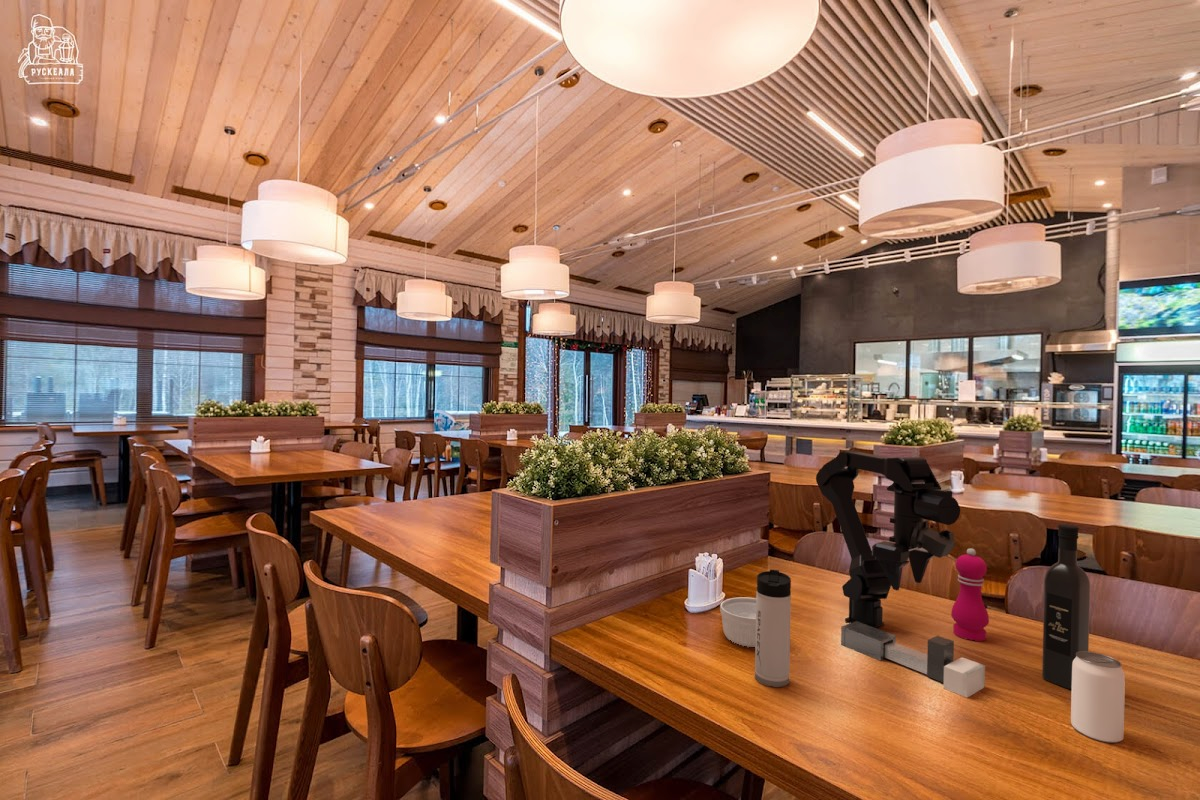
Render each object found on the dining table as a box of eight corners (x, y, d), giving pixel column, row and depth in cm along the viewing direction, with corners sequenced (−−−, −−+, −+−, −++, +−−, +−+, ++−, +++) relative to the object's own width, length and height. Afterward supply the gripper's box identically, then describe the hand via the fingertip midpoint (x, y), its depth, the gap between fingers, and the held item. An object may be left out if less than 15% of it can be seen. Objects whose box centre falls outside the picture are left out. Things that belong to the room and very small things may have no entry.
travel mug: (789, 674, 111) (791, 571, 110) (789, 690, 104) (791, 581, 104) (756, 668, 113) (758, 567, 112) (753, 684, 106) (755, 577, 106)
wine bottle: (1074, 692, 105) (1078, 530, 105) (1039, 678, 110) (1043, 524, 110) (1090, 685, 108) (1093, 527, 108) (1054, 672, 113) (1058, 521, 113)
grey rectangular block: (943, 688, 106) (943, 666, 106) (961, 678, 110) (961, 657, 110) (966, 697, 103) (967, 675, 103) (984, 687, 107) (984, 665, 107)
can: (1060, 721, 96) (1061, 650, 96) (1095, 720, 96) (1097, 649, 96) (1097, 745, 89) (1098, 668, 89) (1135, 743, 90) (1136, 667, 90)
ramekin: (714, 644, 123) (715, 612, 123) (725, 622, 136) (725, 593, 136) (778, 656, 118) (779, 622, 118) (783, 632, 131) (783, 601, 131)
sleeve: (841, 644, 124) (841, 626, 124) (855, 638, 127) (856, 621, 127) (880, 660, 117) (880, 641, 117) (895, 654, 120) (895, 635, 120)
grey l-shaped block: (880, 657, 118) (881, 623, 118) (890, 652, 120) (891, 619, 120) (963, 690, 105) (964, 652, 105) (973, 685, 107) (973, 647, 107)
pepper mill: (977, 630, 133) (979, 544, 133) (995, 643, 126) (997, 553, 126) (944, 628, 134) (946, 543, 134) (961, 641, 127) (963, 551, 127)
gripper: (925, 527, 112) (923, 606, 112) (969, 517, 123) (967, 589, 123) (871, 516, 121) (869, 589, 121) (916, 508, 132) (914, 575, 132)
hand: (907, 586), depth 124 cm, fingers open, 9 cm apart
